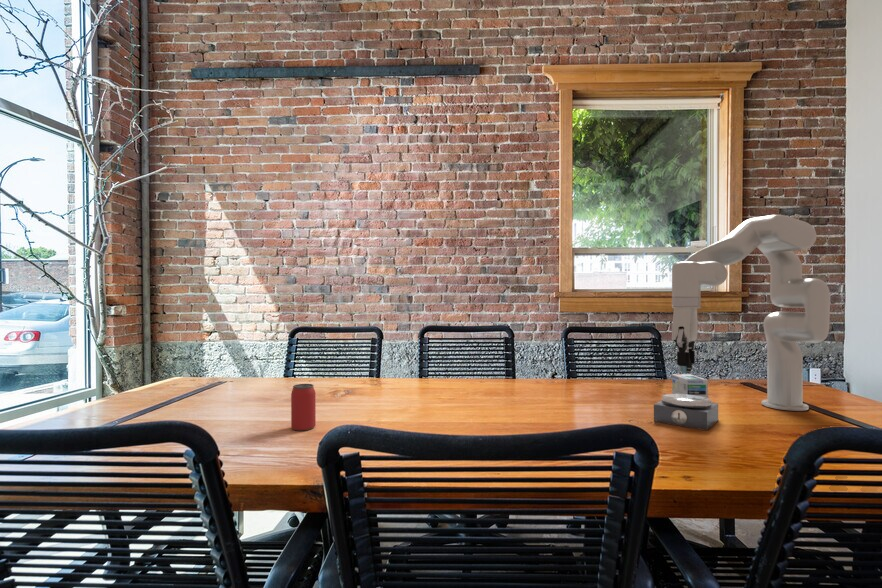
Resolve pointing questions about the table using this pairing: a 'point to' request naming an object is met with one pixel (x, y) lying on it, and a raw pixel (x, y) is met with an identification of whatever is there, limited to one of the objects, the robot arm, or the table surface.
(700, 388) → the light bulb box
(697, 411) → the scale
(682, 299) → the robot arm
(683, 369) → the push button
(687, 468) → the table surface
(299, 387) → the beer can
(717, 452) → the table surface
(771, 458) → the table surface
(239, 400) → the table surface
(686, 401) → the scale pan
